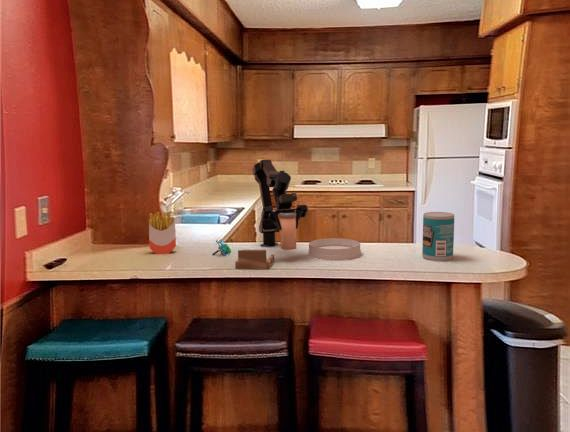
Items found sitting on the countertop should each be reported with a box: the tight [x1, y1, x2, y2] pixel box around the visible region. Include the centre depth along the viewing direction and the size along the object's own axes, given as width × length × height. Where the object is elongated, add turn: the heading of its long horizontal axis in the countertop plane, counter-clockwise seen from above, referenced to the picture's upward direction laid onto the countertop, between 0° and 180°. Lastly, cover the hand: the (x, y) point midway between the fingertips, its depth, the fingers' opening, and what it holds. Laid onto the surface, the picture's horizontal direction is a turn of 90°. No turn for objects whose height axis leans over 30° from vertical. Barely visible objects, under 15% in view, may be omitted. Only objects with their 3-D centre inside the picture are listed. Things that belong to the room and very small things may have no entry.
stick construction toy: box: [211, 239, 232, 257], centre depth 226 cm, size 12×7×8 cm
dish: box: [308, 237, 362, 261], centre depth 221 cm, size 22×22×5 cm
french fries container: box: [148, 211, 177, 255], centre depth 229 cm, size 5×11×18 cm, turn 94°
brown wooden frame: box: [234, 249, 275, 270], centre depth 206 cm, size 13×13×7 cm
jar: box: [278, 212, 297, 251], centre depth 211 cm, size 7×7×14 cm
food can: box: [421, 211, 455, 262], centre depth 210 cm, size 12×12×18 cm
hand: (289, 228), depth 209 cm, fingers closed on jar, 6 cm apart
